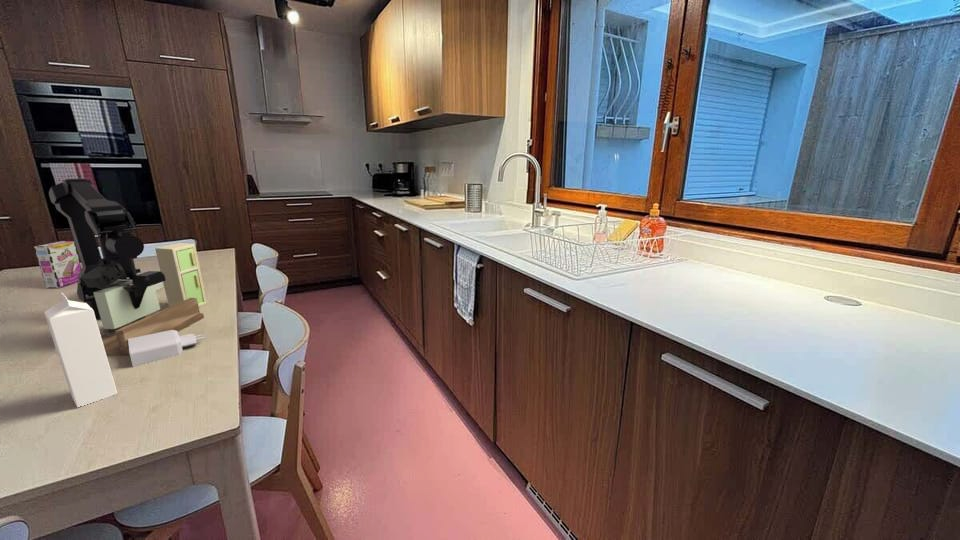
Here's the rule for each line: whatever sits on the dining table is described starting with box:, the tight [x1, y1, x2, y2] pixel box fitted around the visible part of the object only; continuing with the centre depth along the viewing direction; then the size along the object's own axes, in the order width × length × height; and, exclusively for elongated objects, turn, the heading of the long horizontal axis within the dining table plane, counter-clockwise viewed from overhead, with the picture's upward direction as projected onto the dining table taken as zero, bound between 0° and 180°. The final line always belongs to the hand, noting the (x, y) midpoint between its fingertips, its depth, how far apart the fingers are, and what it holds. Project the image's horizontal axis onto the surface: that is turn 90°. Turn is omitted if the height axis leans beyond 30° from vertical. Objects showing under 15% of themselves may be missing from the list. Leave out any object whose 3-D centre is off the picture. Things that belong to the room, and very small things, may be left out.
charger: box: [128, 330, 206, 368], centre depth 98 cm, size 5×9×15 cm
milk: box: [43, 292, 118, 408], centre depth 76 cm, size 6×6×22 cm
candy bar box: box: [33, 240, 82, 289], centre depth 149 cm, size 11×5×16 cm, turn 6°
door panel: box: [93, 282, 161, 330], centre depth 105 cm, size 3×14×10 cm, turn 177°
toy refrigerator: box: [155, 242, 208, 308], centre depth 125 cm, size 8×7×21 cm
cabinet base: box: [100, 298, 205, 356], centre depth 107 cm, size 16×24×6 cm, turn 177°
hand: (131, 308), depth 106 cm, fingers closed on door panel, 3 cm apart
